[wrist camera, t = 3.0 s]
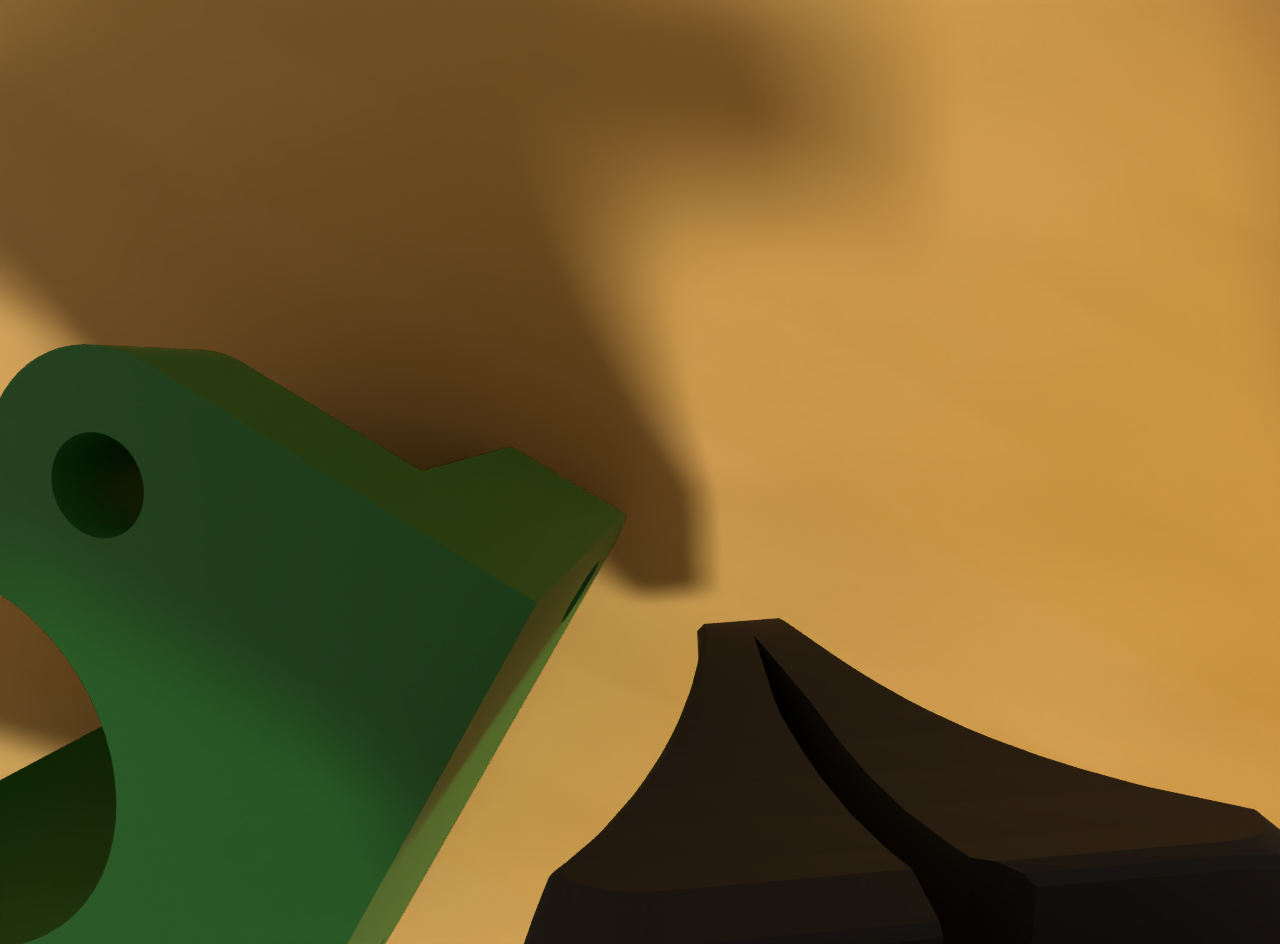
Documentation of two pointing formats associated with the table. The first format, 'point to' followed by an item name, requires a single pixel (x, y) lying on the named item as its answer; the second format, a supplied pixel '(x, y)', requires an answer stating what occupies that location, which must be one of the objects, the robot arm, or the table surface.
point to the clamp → (260, 649)
